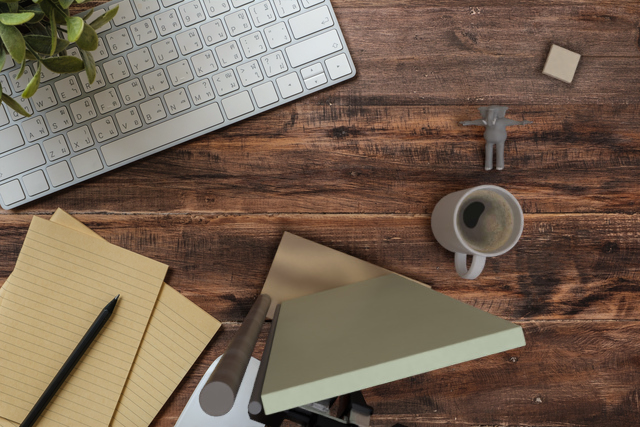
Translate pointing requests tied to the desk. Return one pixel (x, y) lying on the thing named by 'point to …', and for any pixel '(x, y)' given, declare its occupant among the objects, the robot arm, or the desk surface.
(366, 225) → the desk surface
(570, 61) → the coaster
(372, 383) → the door
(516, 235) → the mug
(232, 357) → the door stand
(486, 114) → the elephant figurine
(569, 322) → the desk surface
